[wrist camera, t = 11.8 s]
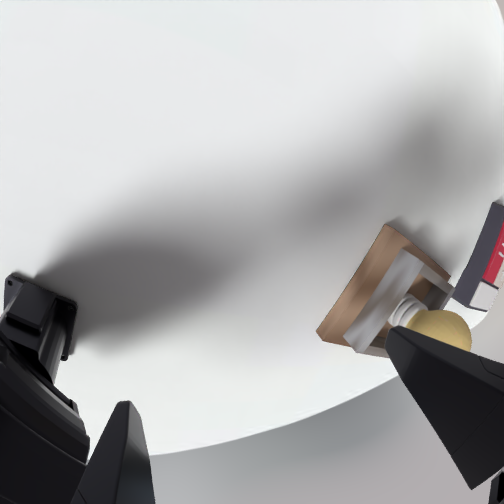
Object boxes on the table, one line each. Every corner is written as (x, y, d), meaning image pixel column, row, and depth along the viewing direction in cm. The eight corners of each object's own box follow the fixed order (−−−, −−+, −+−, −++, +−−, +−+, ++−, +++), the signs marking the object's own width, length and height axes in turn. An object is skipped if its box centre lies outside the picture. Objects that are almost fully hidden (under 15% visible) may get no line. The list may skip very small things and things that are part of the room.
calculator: (524, 231, 31) (490, 314, 35) (505, 222, 35) (472, 303, 38) (511, 208, 26) (470, 310, 30) (487, 199, 30) (448, 296, 34)
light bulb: (401, 269, 25) (476, 328, 17) (426, 290, 28) (488, 341, 19) (362, 322, 27) (425, 391, 18) (392, 335, 30) (446, 393, 21)
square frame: (389, 348, 33) (407, 367, 30) (315, 331, 27) (335, 358, 24) (442, 270, 30) (465, 285, 27) (384, 223, 24) (415, 241, 21)
